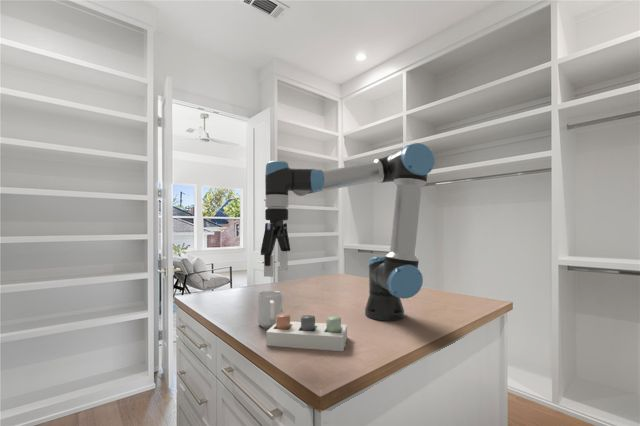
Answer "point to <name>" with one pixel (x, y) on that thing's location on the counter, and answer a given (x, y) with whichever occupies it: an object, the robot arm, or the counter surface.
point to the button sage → (333, 324)
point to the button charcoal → (308, 323)
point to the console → (307, 337)
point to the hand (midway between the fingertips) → (276, 273)
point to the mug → (269, 307)
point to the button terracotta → (283, 321)
